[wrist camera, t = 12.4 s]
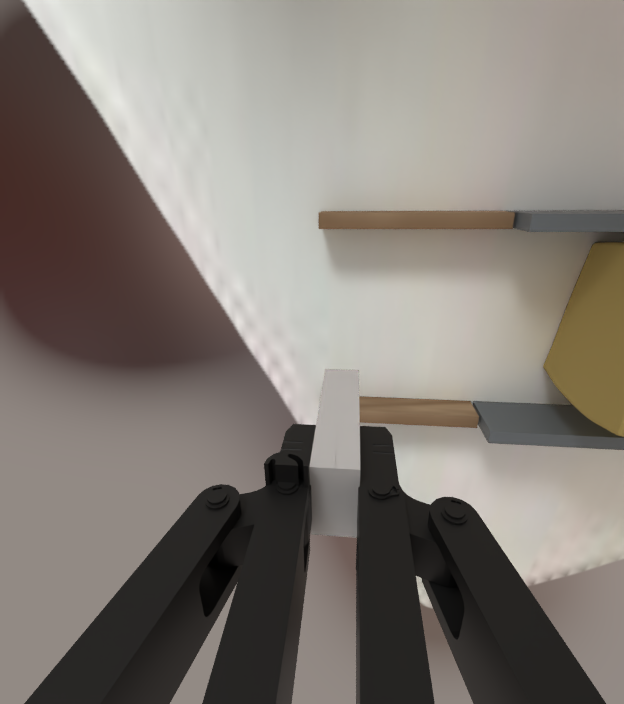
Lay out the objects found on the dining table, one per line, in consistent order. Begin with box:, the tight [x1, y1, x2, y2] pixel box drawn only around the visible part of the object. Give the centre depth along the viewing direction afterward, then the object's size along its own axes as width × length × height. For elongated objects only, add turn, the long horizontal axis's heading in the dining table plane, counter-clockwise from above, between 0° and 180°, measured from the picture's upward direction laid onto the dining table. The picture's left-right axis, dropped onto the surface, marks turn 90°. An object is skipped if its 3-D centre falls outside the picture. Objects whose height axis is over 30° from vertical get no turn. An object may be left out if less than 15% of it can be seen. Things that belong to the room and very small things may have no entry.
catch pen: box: [473, 210, 624, 450], centre depth 27 cm, size 16×17×4 cm
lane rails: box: [319, 211, 515, 428], centre depth 30 cm, size 16×12×2 cm
